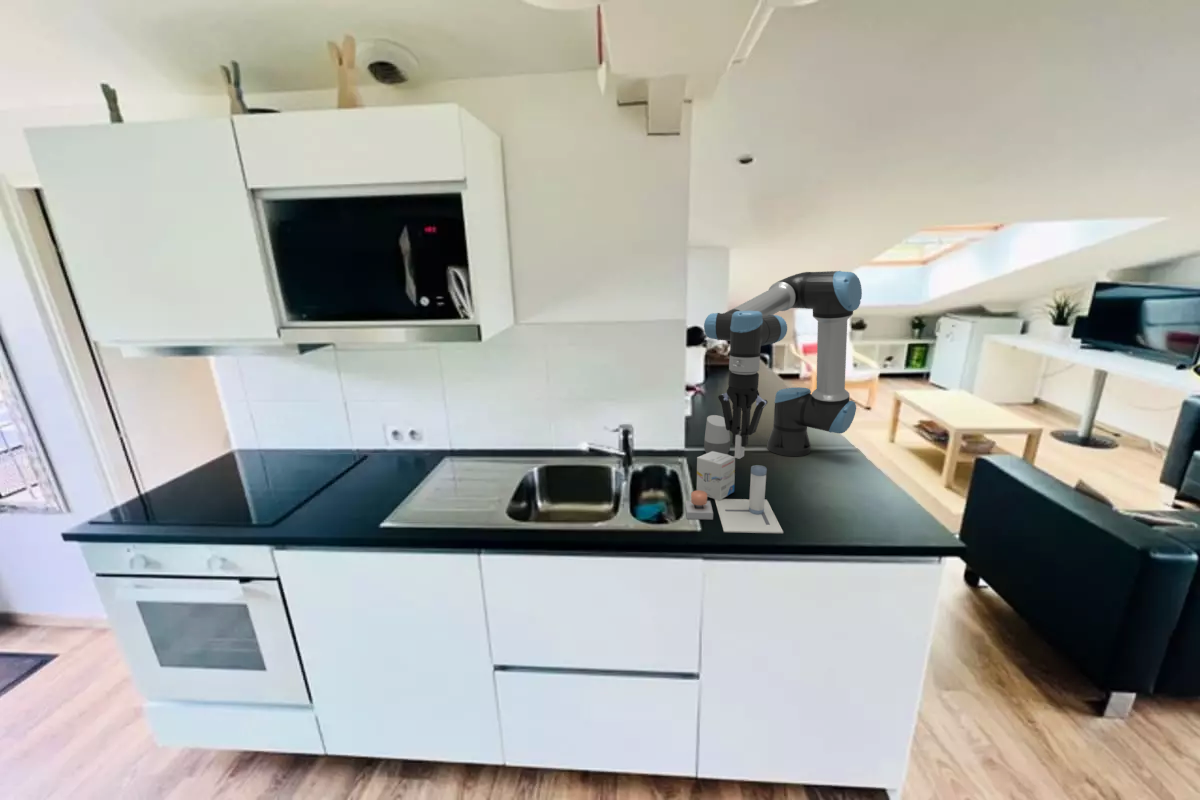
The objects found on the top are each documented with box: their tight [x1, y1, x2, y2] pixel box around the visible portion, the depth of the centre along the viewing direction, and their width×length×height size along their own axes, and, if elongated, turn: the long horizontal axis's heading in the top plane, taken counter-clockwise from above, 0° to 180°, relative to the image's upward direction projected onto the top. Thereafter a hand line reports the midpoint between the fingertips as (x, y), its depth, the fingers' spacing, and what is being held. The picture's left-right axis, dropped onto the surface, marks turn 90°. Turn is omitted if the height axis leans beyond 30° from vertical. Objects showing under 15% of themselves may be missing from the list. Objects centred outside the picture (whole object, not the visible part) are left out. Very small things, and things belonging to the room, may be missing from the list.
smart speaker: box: [703, 414, 731, 455], centre depth 177 cm, size 10×9×14 cm
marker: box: [749, 464, 768, 514], centre depth 134 cm, size 4×4×13 cm
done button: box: [690, 489, 708, 509], centre depth 136 cm, size 4×4×4 cm
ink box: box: [696, 451, 736, 500], centre depth 147 cm, size 9×8×12 cm
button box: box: [684, 500, 714, 520], centre depth 136 cm, size 7×7×2 cm
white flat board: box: [714, 498, 784, 534], centre depth 134 cm, size 18×15×1 cm
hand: (739, 456), depth 131 cm, fingers closed
